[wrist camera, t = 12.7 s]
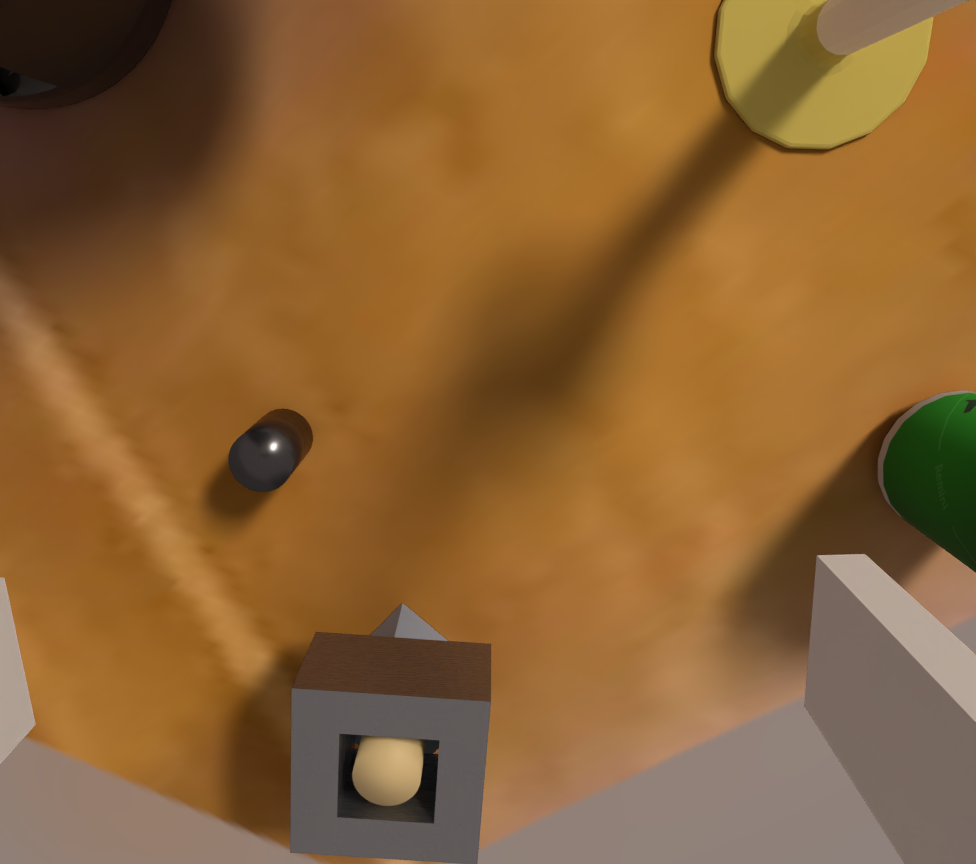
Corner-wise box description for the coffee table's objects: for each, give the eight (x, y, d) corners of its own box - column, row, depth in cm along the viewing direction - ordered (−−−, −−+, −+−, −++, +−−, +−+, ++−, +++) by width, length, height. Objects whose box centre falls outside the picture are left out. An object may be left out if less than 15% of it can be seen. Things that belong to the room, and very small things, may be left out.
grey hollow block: (313, 780, 43) (290, 852, 38) (315, 631, 40) (291, 688, 36) (478, 791, 43) (477, 864, 38) (491, 643, 41) (490, 701, 36)
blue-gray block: (333, 671, 46) (295, 779, 37) (402, 603, 44) (380, 697, 36) (411, 733, 47) (392, 852, 38) (480, 668, 45) (477, 775, 37)
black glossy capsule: (244, 437, 42) (215, 463, 38) (280, 397, 41) (255, 418, 37) (288, 474, 42) (265, 504, 38) (324, 435, 42) (304, 460, 37)
